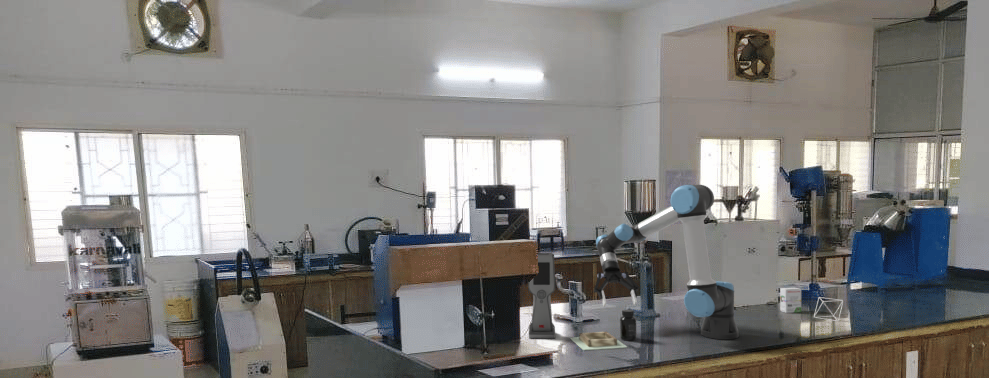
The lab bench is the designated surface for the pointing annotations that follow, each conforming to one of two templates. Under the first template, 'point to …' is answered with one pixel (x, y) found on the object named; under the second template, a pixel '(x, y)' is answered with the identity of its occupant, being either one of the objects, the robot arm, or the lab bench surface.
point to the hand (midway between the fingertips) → (620, 304)
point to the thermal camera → (542, 298)
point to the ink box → (790, 300)
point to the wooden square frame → (597, 339)
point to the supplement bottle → (628, 326)
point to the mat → (585, 347)
